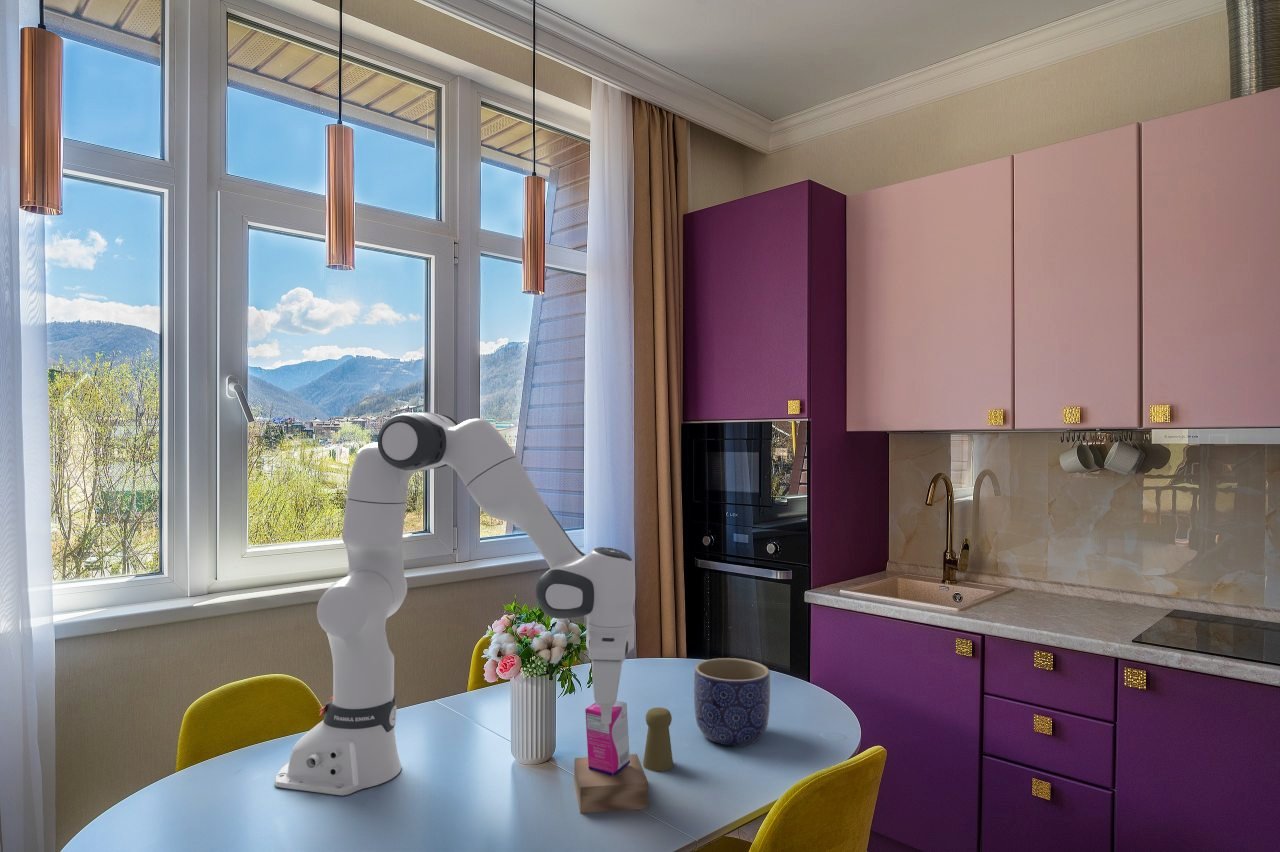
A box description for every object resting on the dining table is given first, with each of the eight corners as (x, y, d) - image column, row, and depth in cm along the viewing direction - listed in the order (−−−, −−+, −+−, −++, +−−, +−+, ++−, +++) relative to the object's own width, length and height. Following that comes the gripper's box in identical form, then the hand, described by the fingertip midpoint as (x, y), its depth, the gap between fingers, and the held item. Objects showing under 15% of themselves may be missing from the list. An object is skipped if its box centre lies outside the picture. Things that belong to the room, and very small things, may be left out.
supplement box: (604, 755, 144) (602, 696, 144) (630, 763, 141) (629, 702, 140) (586, 768, 139) (584, 707, 139) (613, 777, 136) (611, 714, 136)
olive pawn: (647, 772, 148) (648, 716, 148) (639, 759, 154) (640, 705, 154) (677, 769, 150) (677, 713, 150) (667, 756, 155) (668, 703, 156)
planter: (687, 747, 160) (688, 677, 160) (700, 719, 176) (700, 655, 176) (766, 756, 156) (767, 684, 156) (772, 726, 172) (772, 660, 172)
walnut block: (580, 816, 132) (580, 787, 132) (574, 784, 144) (574, 758, 144) (647, 810, 134) (648, 782, 134) (636, 780, 146) (636, 754, 146)
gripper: (597, 622, 150) (596, 692, 150) (587, 652, 129) (585, 733, 129) (629, 623, 150) (628, 694, 149) (624, 653, 129) (622, 735, 129)
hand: (608, 712), depth 139 cm, fingers open, 8 cm apart
